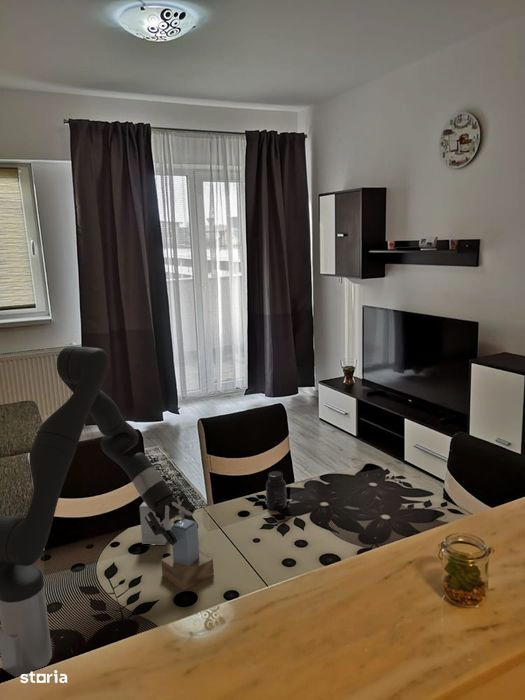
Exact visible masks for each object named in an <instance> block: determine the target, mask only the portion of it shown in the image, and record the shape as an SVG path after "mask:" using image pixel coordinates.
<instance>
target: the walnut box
mask: <svg viewBox="0 0 525 700" xmlns="http://www.w3.org/2000/svg"><path fill="white" fill-rule="evenodd" d="M161 571H162V572H161V573H162V577H165V579H166V580H168V581H170V582H171V583H173V584H174V585H175V586H176V587H178V588H179V589H180V590H182V591H185V590H187V589H190V588H191V587H193V586H195V585H197V584H199V583H201V582H203V581H205V580H206V579H208V578H210V577H212V576H214V573H215V571H214V559H213V558H212V557H210V556H208V555H207V554H205V553H204V552H203V551H200V550H199V558H198V559H197V560H196V561H194V562H193V563H192V564H191V565H190V566H186V565H182V564H179V563H175V562H173V554H170V555H168V556H167V557H164V558H162V559H161Z"/></svg>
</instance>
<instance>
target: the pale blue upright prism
mask: <svg viewBox="0 0 525 700" xmlns="http://www.w3.org/2000/svg"><path fill="white" fill-rule="evenodd" d="M195 521H196V520H195ZM195 521H191V520H187V519H183V518H180V520H178V521H176V523H174V524H172V527H171V532H172V533H173V535H174V536H175V537H176V539H177V542H176V543H175V544H174V545H171V546H172V548H171V549H172V555H173V562H175V563H179V564H182V565H186V566H190V565H191V564H192V563H193V562H194V561H196V560H197V559H198V558H199V551H200V547H199V530H198V529H199V526H198V527H197V524H198V522H197V523H195Z"/></svg>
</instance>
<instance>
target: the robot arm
mask: <svg viewBox="0 0 525 700" xmlns="http://www.w3.org/2000/svg"><path fill="white" fill-rule="evenodd" d="M109 362H110V361H109V355H108V353H107V351H105V350H104V349H102V348H99V347H88V346H76V345H75V346H74V345H73V346H66V347H64V348H62V349H61V350H60V352H59V354H58V356H57V359H56V370H57V371H56V372H57V374H58V375H59V377H60V379H61V380H62V382H63V383H64V385H66V387H68V389H69V390H70V391H71V392H72V394H71V395H70V397H69V398H68V399H67V401H65V402H64V403H63V404H62V405H61V406H60V407H58V409H56V410H55V411H54V412H53V413H52V414H51V415H50V416H49V417H48V418H46V419H45V421H44V422H43V423H42V424H41V426H40V427H39V428H38V431H37V433H36V436H35V439H34V442H33V443H32V445H31V446H32V447H31V448H30V452H29V459H28V460H29V461H28V462H29V463H28V464H29V469H30V474H31V480H32V496H31V497H32V498H31V501H30V505H29V508H28V510H27V513H26V515H25V517H20V516H13V515H3V516H0V626H1V627H0V660H1V668H2V669H3V670H4V671H5V672H6V673H9V674H10V675H11V676H13V677H14V678H16V677H17V676H20V675H21V674H24V673H28V672H30V671H33V670H36V669H39V668H42V667H44V666H45V667H46V666H47V665H49V663H50V662H51V660H52V658H53V651H52V642H51V634H50V625H49V618H48V617H49V616H48V609H47V600H46V590H45V581H44V575H43V572H42V571H41V569H39V567H37V566H36V565H34V564H35V563H36V562H37V561H38V560H39V559H40V557H41V556H42V554H43V552H44V550H45V548H46V546H47V543H48V540H49V536H50V534H51V528H52V526H53V521H54V516H55V514H56V509H57V505H58V502H59V498H60V495H61V493H62V489H63V486H64V483H65V481H66V477H67V474H68V473H69V472H68V471H69V468H70V466H71V464H72V462H73V459H74V457H75V454H76V451H77V447H78V446H79V442H80V440H81V435H82V433H83V430H84V428H85V426H86V425H85V424H86V422H87V419H88V416H89V414H90V416H91V417H92V420H93V422H94V423H95V425H96V426H97V428H98V430H99V432H100V433H101V434H102V435H103V437H102V438H101V439H100V448H101V450H102V452H103V453H104V454H105V455H106V456H107V457H108V458H110V459H111V460H112V461H113V462H115V463H116V464H117V465H118V466H120V467H121V469H122V470H123V471H124V472H125V474H126V475H127V477H128V478H129V480H130V481H131V482H132V484H133V486H134V488H135V490H136V492H137V493H138V495H139V496H140V497H141V499H142V500H143V502H145V503H146V505H147V506H148V508H149V509H152V511H153V512H149V513H148V514H147V515H146V516H145V520H146V521H147V523H148V524H149V526H150V528H151V529H152V531H153V533H154V534H155V535H158V534H162V535H164V537H165V538H166V540H167V543H168V544H169V545H171V546H172V545H174V544H175V543H176V542H177V539H176V537H175V536H174V535H173V533H172V532H171V530H170V529H169V527H168V523H169V521H170V520H172V519H175V518H179V519H182V518H183V519H187V520H191V521H195V523H197V527H198V528H199V524H198V522H197V521H196V520H195V518H194V516H193V514H194V512H195V511H196V509H195V507H194V506H193V505H192V503H191V502H190V501H189V499H188V498H187V497H186V496H185V494H183V493H182V494H180V495H179V496H178V497H177V498H176V497H174V495H173V491H172V489H171V488H170V486H169V485H168V484H167V482H166V481H165V480H164V478H163V477H162V475H161V473H159V472H158V470H157V469H156V468H155V467H154V465H153V464H152V463H151V461H150V460H149V459H148V457H147V456H146V454H145V453H144V452H140V451H139V452H137V453H134V454H131V455H123V454H125V453H126V452H128V451H129V450H131V449H133V448H134V447H135V446H136V445H138V444H139V441H140V439H139V438H140V437H139V433H138V431H137V430H136V429H135V427H133V426H132V425H131V424H129V423H128V422H127V421H126V419H124V417H123V415H122V414H121V411H120V409H119V407H118V405H117V403H115V401H114V400H113V399H112V398H111V397H110V396H109V395H108V394H106V393H105V392H104V391H103V390H102V389H101V388H102V386H103V384H104V382H105V379H106V376H107V373H108V369H109ZM156 517H157V518H159V522H158V521H157V519H156ZM168 529H169V530H168ZM45 667H44V668H45ZM42 669H43V668H42Z"/></svg>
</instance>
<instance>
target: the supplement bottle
mask: <svg viewBox="0 0 525 700" xmlns="http://www.w3.org/2000/svg"><path fill="white" fill-rule="evenodd" d="M283 475H284V474H283V472H282V471H279V470H274V471H270V472H269V473H268V480H267V481H266V482H265V494H266V497H265V498H266V499H265V500H266V507H267V509H269V510H270V511H274V512H275V511H282V510H284V509H286V508H287V506H288V505H287V503H288V502H287V484H286V483H287V482H286V481H285V480H284V476H283Z"/></svg>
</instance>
